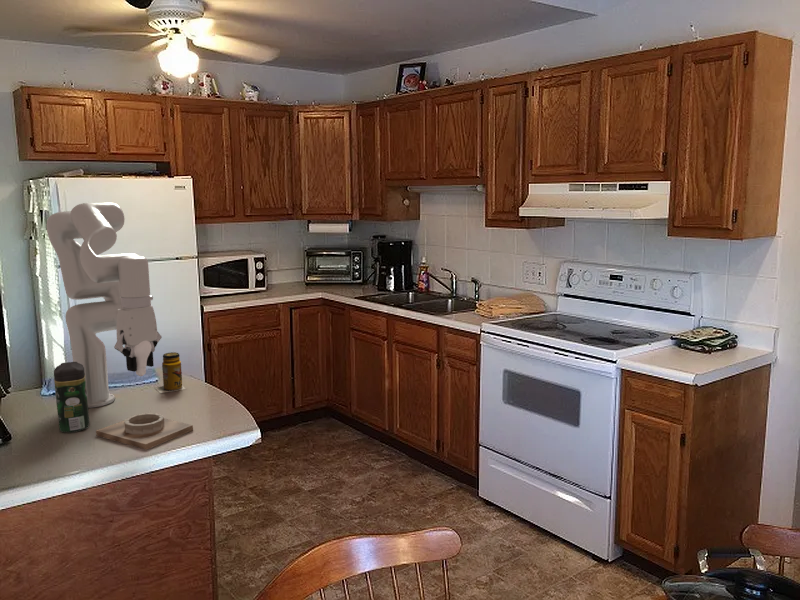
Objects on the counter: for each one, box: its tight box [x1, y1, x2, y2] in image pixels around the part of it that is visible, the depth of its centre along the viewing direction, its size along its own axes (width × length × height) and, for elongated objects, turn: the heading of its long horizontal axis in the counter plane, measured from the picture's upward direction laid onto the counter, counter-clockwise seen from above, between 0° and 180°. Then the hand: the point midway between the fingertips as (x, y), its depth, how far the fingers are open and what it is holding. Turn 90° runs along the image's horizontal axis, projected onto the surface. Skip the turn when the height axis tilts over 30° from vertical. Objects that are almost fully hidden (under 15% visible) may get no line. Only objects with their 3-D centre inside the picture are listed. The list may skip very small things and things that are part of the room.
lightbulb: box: [128, 341, 151, 377], centre depth 182 cm, size 6×6×11 cm
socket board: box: [95, 412, 194, 450], centre depth 186 cm, size 20×16×4 cm
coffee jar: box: [53, 361, 90, 433], centre depth 189 cm, size 10×8×19 cm
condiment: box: [154, 351, 187, 394], centre depth 225 cm, size 7×8×12 cm
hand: (140, 367), depth 183 cm, fingers closed on lightbulb, 4 cm apart
